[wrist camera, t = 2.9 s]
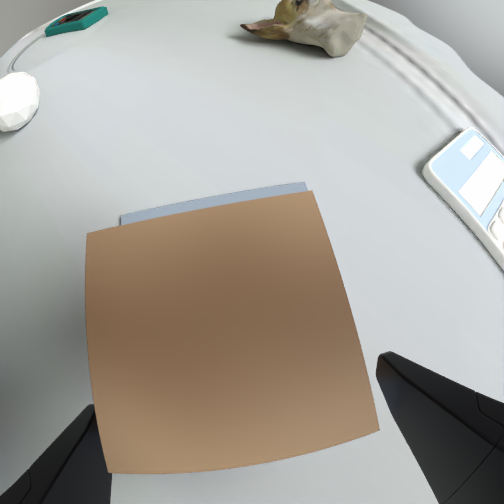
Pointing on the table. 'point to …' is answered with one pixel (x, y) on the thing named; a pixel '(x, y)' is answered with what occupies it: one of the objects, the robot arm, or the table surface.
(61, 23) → the digital multimeter
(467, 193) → the calculator
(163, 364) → the walnut block
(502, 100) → the table surface
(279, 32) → the ceramic sculpture
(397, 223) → the table surface
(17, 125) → the geometric ball
